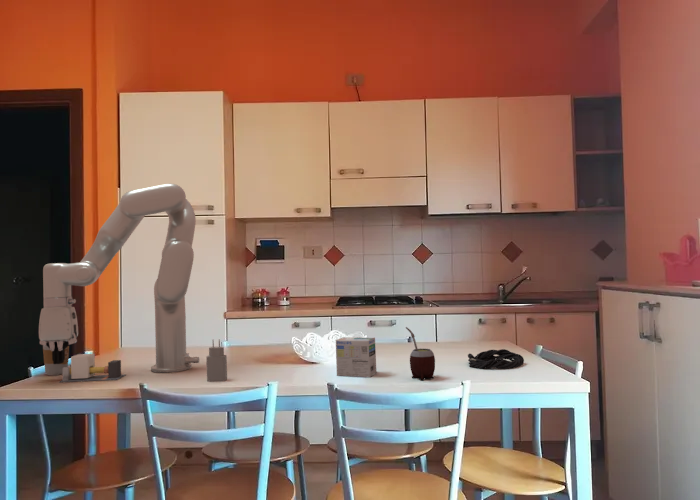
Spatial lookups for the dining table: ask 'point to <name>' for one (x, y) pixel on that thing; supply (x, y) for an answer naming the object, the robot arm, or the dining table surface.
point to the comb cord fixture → (111, 369)
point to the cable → (495, 359)
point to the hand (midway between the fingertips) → (58, 363)
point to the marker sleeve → (82, 365)
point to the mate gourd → (421, 362)
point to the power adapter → (216, 364)
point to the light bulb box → (356, 356)
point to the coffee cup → (49, 366)
